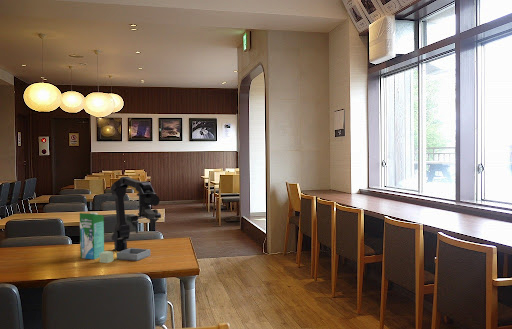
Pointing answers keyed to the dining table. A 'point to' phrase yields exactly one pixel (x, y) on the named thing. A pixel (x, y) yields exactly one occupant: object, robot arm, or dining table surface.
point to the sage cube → (106, 256)
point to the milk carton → (91, 235)
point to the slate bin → (133, 254)
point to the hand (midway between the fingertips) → (144, 231)
